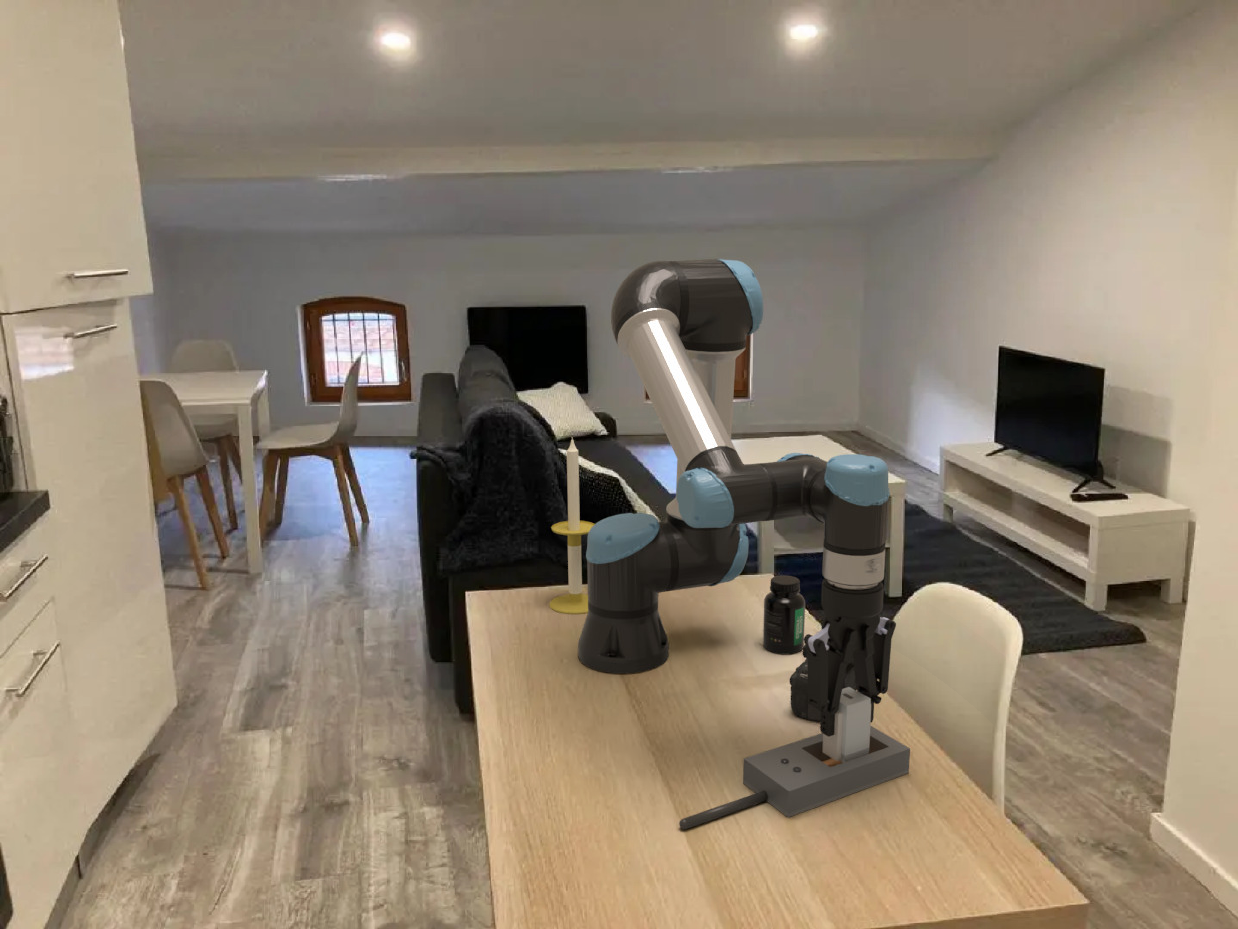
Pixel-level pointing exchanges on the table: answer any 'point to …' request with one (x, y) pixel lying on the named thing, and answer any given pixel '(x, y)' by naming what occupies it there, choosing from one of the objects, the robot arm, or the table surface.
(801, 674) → the camera
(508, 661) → the table surface
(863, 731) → the block
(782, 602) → the supplement bottle
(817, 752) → the power strip
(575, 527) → the candle
